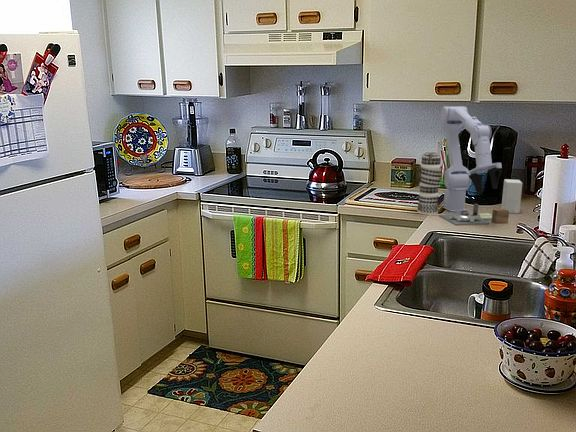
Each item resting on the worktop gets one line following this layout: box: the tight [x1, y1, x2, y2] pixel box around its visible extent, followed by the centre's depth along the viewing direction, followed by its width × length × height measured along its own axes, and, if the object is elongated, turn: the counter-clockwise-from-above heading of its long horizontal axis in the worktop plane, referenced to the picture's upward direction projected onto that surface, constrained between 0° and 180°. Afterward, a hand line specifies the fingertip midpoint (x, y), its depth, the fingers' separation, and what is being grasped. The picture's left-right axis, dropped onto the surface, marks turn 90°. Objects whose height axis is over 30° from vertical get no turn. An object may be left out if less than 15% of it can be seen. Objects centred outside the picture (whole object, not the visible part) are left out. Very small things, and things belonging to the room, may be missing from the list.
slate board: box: [438, 213, 490, 226], centre depth 244 cm, size 15×14×1 cm
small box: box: [500, 178, 524, 214], centre depth 259 cm, size 8×6×13 cm
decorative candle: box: [417, 151, 443, 216], centre depth 253 cm, size 9×9×25 cm
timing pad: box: [479, 212, 492, 221], centre depth 249 cm, size 8×7×1 cm
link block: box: [491, 208, 510, 225], centre depth 241 cm, size 4×5×5 cm
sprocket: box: [448, 203, 481, 222], centre depth 243 cm, size 12×12×5 cm
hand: (487, 190), depth 234 cm, fingers open, 7 cm apart
